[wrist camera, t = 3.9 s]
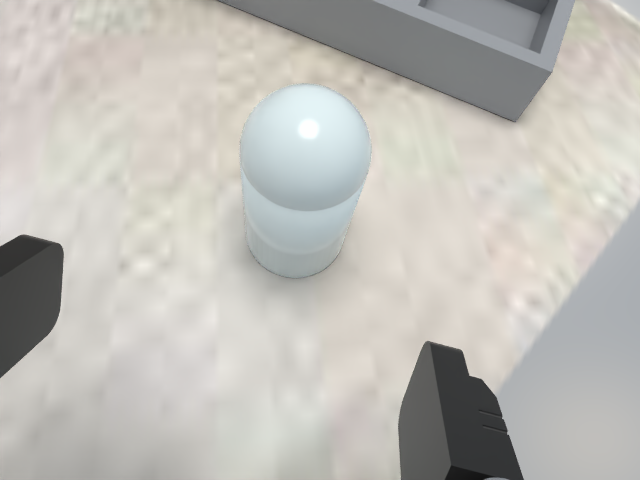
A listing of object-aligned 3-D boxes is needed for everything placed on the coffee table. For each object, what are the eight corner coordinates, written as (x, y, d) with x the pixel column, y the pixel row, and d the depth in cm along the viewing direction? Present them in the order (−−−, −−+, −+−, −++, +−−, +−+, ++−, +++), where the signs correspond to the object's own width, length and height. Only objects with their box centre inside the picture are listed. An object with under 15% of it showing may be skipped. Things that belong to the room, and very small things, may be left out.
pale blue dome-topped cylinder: (228, 253, 24) (209, 139, 16) (271, 173, 26) (275, 33, 18) (320, 294, 24) (351, 200, 15) (357, 211, 26) (404, 86, 17)
